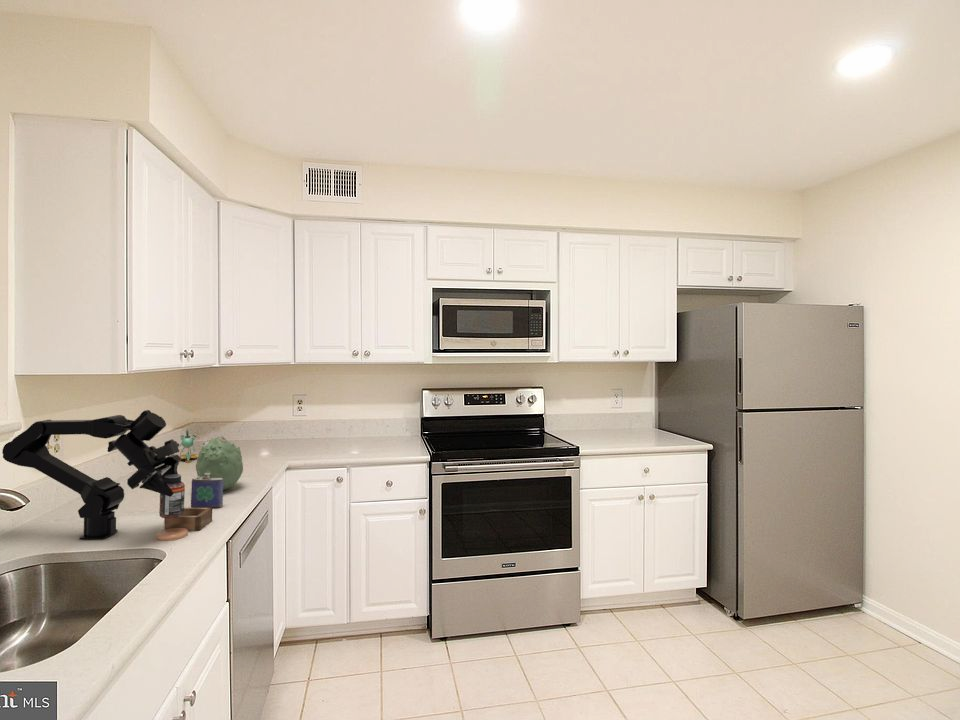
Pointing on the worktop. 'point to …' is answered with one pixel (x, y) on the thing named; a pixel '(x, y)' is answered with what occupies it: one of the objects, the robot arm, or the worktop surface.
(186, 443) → the teal round figure
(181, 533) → the tan flat disc
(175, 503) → the supplement bottle
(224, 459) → the green bumpy egg shape
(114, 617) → the worktop surface
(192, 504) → the flask
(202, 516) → the wooden box
